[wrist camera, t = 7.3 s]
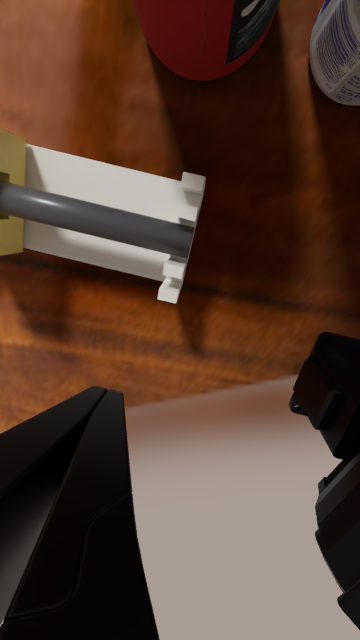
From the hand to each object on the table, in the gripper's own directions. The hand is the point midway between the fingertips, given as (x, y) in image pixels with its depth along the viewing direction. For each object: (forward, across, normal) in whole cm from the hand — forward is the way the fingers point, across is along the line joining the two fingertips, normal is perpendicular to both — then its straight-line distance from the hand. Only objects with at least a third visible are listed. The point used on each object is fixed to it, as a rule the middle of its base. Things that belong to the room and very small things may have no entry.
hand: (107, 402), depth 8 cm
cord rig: (+12, +7, -4) cm, 14 cm away
